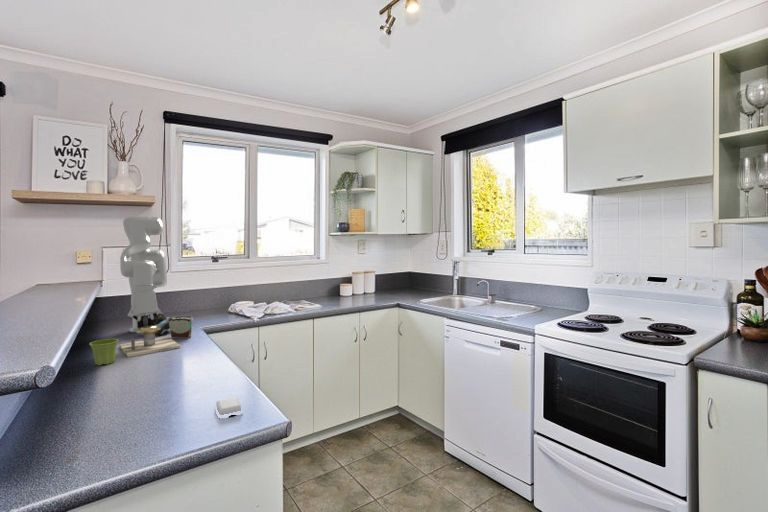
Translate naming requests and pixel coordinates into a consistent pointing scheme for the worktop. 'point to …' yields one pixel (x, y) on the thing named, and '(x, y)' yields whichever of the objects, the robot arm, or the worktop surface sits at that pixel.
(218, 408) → the soap
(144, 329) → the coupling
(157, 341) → the post base
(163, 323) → the lucky cat figurine
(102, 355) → the plant pot
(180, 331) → the food container
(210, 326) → the worktop surface
